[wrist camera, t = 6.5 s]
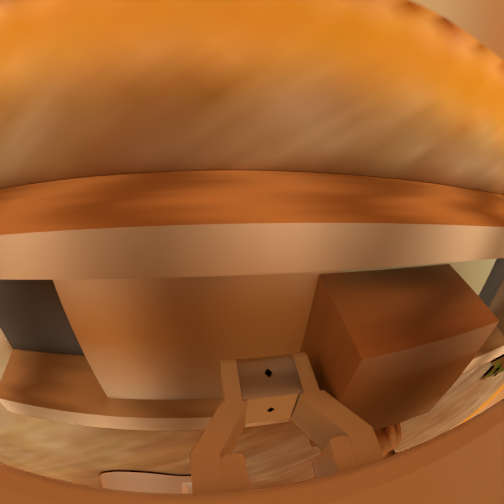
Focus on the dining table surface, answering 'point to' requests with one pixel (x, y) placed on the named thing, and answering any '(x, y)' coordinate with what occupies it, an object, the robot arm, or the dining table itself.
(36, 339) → the board
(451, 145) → the dining table surface
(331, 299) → the walnut block
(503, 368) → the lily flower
